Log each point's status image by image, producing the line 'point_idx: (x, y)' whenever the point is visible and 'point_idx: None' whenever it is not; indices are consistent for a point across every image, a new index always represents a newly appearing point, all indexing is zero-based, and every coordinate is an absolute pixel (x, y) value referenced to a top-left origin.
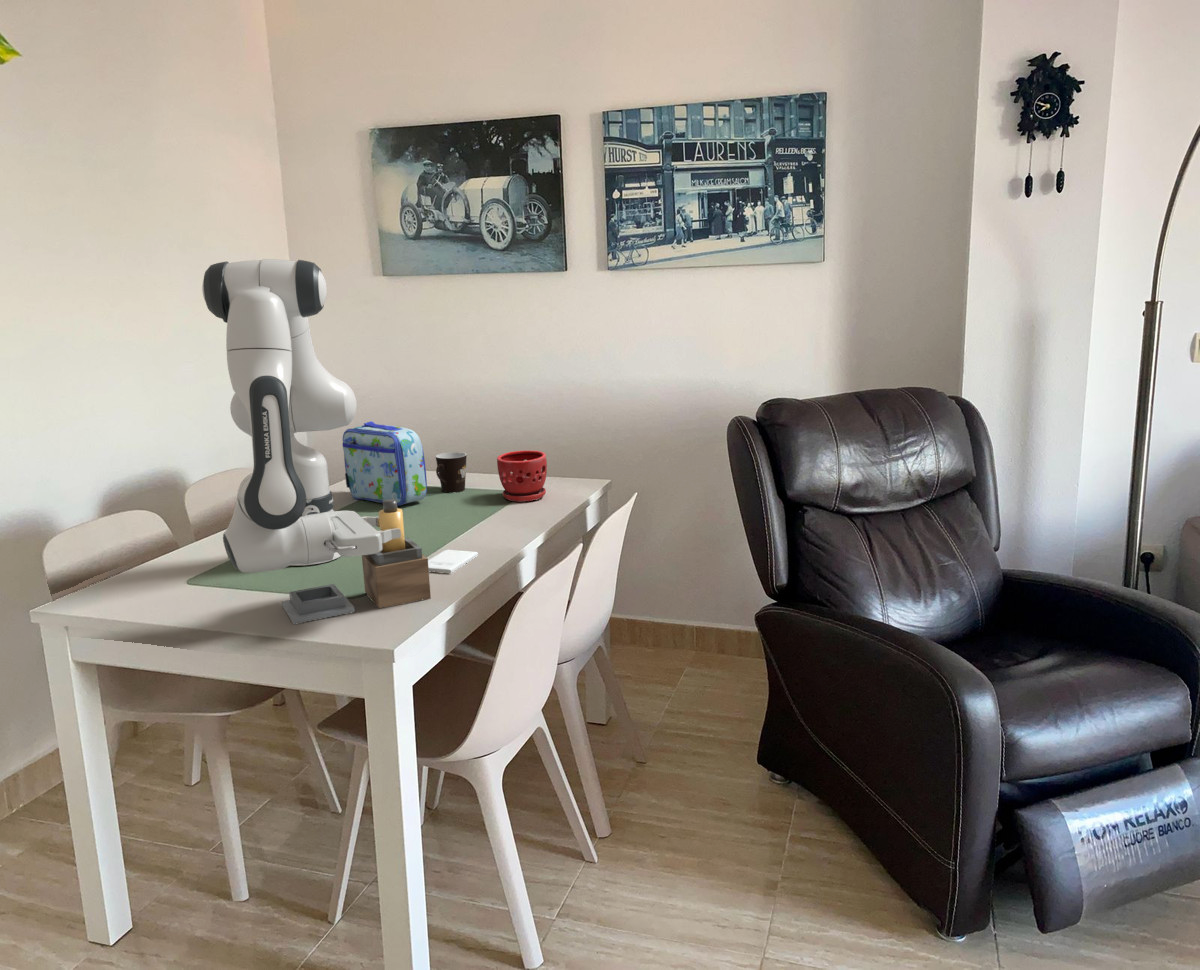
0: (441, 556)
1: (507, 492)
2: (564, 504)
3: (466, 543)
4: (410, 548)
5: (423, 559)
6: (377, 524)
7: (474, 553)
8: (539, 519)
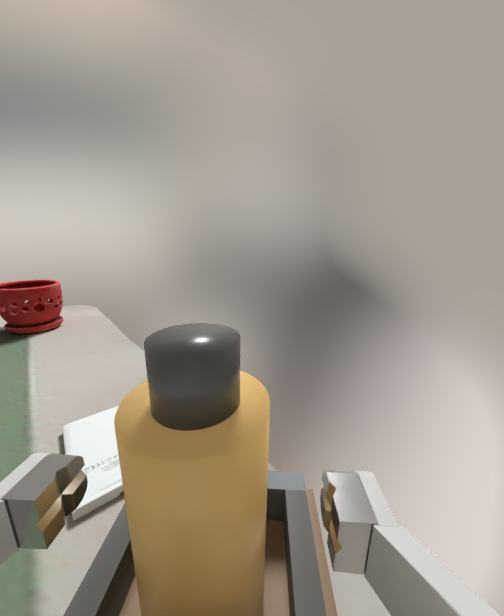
0: (85, 443)
1: (17, 325)
2: (97, 322)
3: (69, 397)
4: None
5: (314, 504)
6: (38, 534)
7: None
8: (104, 338)
